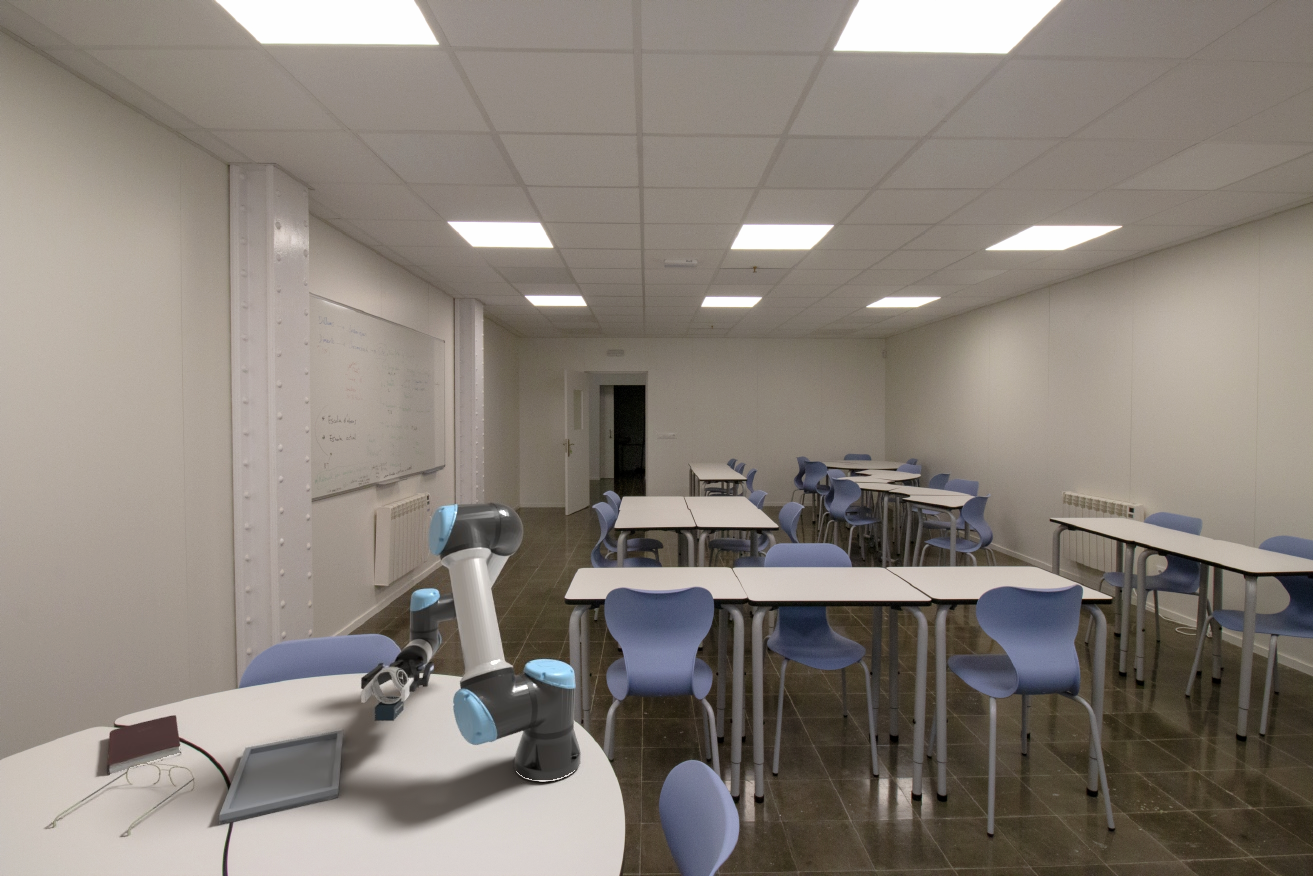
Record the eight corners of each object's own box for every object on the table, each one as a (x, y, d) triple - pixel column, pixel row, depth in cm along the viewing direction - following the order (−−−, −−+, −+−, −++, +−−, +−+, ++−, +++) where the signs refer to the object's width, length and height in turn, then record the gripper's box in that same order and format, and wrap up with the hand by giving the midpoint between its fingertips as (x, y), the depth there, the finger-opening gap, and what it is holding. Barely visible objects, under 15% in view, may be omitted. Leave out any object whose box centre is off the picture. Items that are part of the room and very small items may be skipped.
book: (106, 778, 124) (106, 763, 124) (109, 741, 138) (109, 728, 138) (181, 758, 133) (181, 744, 133) (176, 725, 147) (177, 712, 147)
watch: (402, 720, 132) (403, 673, 132) (366, 720, 132) (368, 673, 132) (411, 709, 138) (412, 663, 138) (378, 709, 137) (379, 663, 138)
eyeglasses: (200, 789, 121) (200, 766, 121) (128, 838, 106) (128, 812, 106) (132, 783, 123) (132, 760, 123) (52, 830, 108) (52, 804, 108)
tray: (338, 797, 119) (338, 788, 119) (219, 825, 110) (219, 814, 110) (342, 737, 142) (343, 729, 142) (245, 756, 133) (245, 747, 133)
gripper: (453, 671, 154) (430, 710, 131) (372, 674, 151) (334, 714, 129) (453, 643, 154) (430, 678, 131) (372, 645, 151) (335, 681, 129)
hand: (383, 696), depth 130 cm, fingers closed on watch, 8 cm apart
